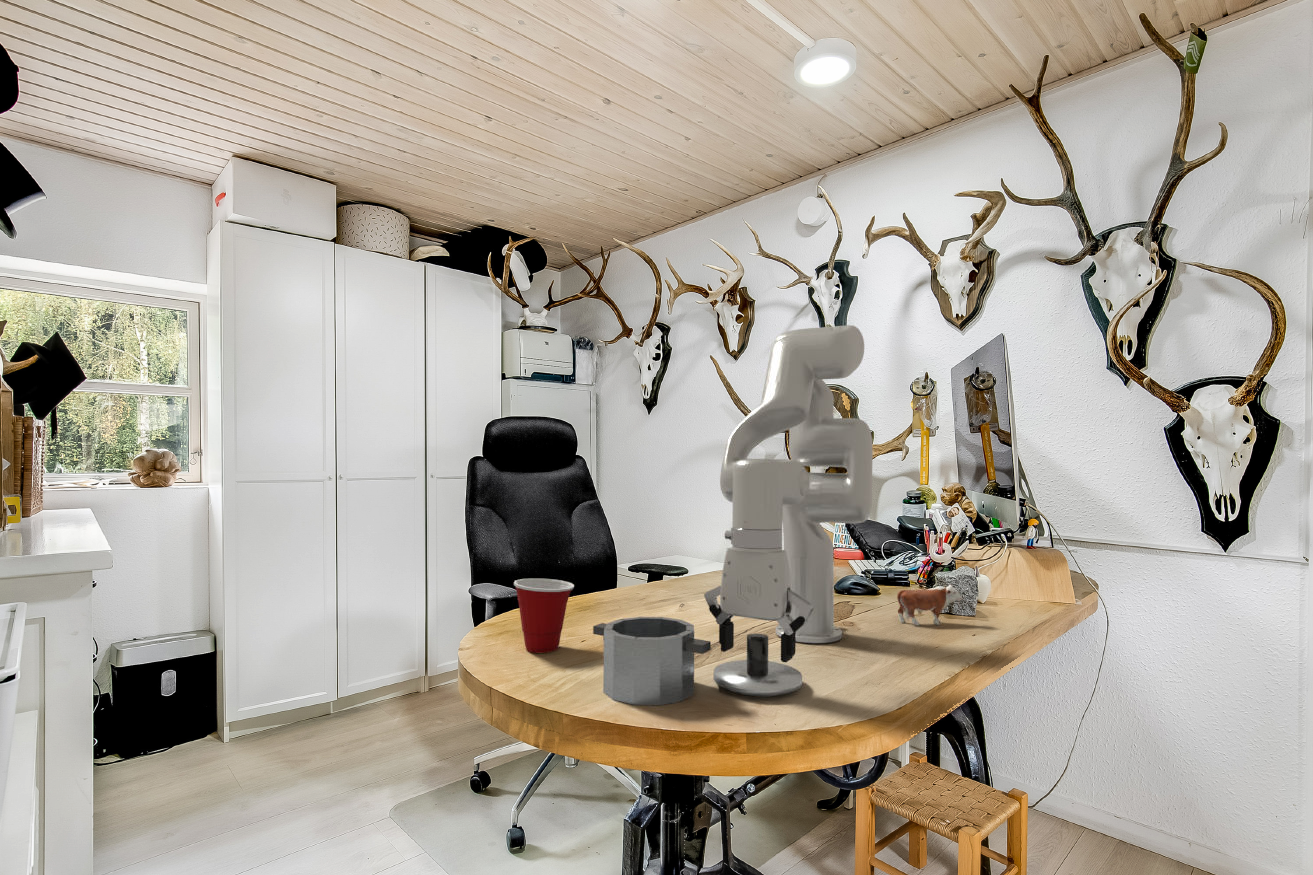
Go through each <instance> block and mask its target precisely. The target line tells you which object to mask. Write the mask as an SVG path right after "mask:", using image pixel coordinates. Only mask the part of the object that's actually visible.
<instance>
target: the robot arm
mask: <svg viewBox="0 0 1313 875" xmlns="http://www.w3.org/2000/svg"><path fill="white" fill-rule="evenodd" d="M864 354H865V339H864V336H863V333H862V332H861V331H860V329H859V328H858V327H857V326H855V325H853V324H852V325H849V324H848V325H837V326H826V327H825V326H824V327H823V326H822V327H810V328H800V329H794V330H793V329H792V330H789V331H785V332H783V333H780V334H779V335H778V336H777V337H776V338H775V340H774V343H773V345H772V347H771V349H770V354H769V357H768V358H769V359H768V362H767V369H766V374H765V379H764V384H763V390H762V395H761V401H760V404H759V405H758V406H757V407H756V408H754V409H753V410H751V412H749V414H747V415H746V416H745V417H744V418H743V419H742V420H741V421H740V422H739V423H738V425H737V426H736V427H735V428H734V430H733V431H732V432H731V434H730V435H729V437H728V439H727V442H726V446H725V449H724V454H723V459H722V462H721V463H722V464H721V468H720V476H719V485H720V491H721V493H722V496H723V497H724V498H725V499H726V500H727V501H728V502H730V503H732V522H731V523H732V524H731V525H732V527H731V529H730V530H726V531H725V532H724V539H725V540H729V541H730V544H731V545H732V546H731V547H727V548H726V552H725V554H724V560H723V566H722V567H723V568H722V575H721V582H720V583H721V584H720V585H719V586H717V587H714V588H713V589H710V590H708V591H706V592H704V593H703V596H704V598H705V602H706V603H707V606H708V610H709V612H710V613H711V614H712V616H713V618H714V619H715V622H716V624H717V625H718V626H719V627H718V628H719V629H718V632H719V633H718V642H719V645H720V651H721V652H723V653H725V652H727V651H730V650H731V649H733V648H734V647H735V645H734V642H735V641H734V640H735V638H734V637H735V636H734V635H735V631H734V630H735V629H734V628H735V627H734V626H735V624H734V621H732V618H734V617H740V618H748V619H754V620H761V621H770V622H773V621H776V622H777V623H778V625H776V626H775V635H777V636H778V637H780V661H781V662H782V663H785V664H786V663H788V662H789V661H791V660H792V659H793V657H794V656H795V655H796V647H797V646H796V644H797V643H806V644H827V643H834V642H837V641H839V640H842V638H843V631H842V629H841V628H839V627H837V626H835V625H834V624H835V623H834V618H835V611H834V609H835V608H834V604H835V603H834V601H835V600H834V599H835V598H834V597H835V596H834V595H835V594H834V587H835V586H834V580H835V579H834V576H835V575H834V574H835V573H834V545H833V542H832V539H831V538H830V536H829V534H828V533H827V532H826V530H825V529H824V527H823V526H822V525H821V523H825V524H826V523H829V524H830V523H833V524H835V523H836V524H862V523H864V522H866V521H867V520H868V519H869V517H870V515H871V512H872V505H873V504H872V503H873V502H872V501H873V500H872V499H873V455H874V454H873V453H874V452H873V450H874V449H873V437H872V433H871V429H870V426H869V425H868V423H867V422H866V421H865V420H863V419H860V418H854V417H852V418H851V417H847V418H846V417H845V418H843V417H842V418H841V417H840V418H837V417H835V418H834V407H835V406H834V403H835V401H834V400H835V398H834V394H833V391H832V390H831V388H830V387H829V386H828V384H827V383H826V382H825V381H824V380H836V379H837V380H839V379H840V380H841V379H845V378H848V377H850V376H851V375H852V374H853V373H854V372H855V371H856V370H857V369H858V368H859V367H860V366H861V363H862V361H863V359H864ZM787 430H789V432H788V433H789V435H788V452H789V457H790V459H786V458H784V459H783V458H780V459H779V458H774V459H773V458H748V457H749V455H750V453H752V451H753V450H754V449H755V448H756V447H757V446H758V445H760V444H761V443H763V442H764V441H766V440H768V439H769V438H772V437H774V436H776V435H779V434H780V433H784V432H786V431H787ZM806 467H819V468H820V467H824V468H825V467H826V468H831V467H832V468H834V467H835V468H845V469H846V472H845V473H842V472H841V473H840V472H838V473H837V472H835V473H834V472H808V471H807V469H806ZM719 596H720V598H719V599H720V600H719V603H720V604H719V603H718V597H719ZM796 642H797V643H796Z"/></svg>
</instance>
